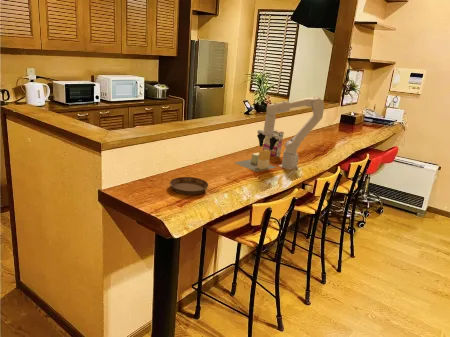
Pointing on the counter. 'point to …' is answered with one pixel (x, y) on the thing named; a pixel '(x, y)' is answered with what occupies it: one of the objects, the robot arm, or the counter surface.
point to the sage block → (255, 158)
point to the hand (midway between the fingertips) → (266, 148)
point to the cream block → (263, 164)
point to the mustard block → (264, 155)
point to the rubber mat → (252, 165)
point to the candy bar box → (277, 146)
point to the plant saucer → (189, 185)
